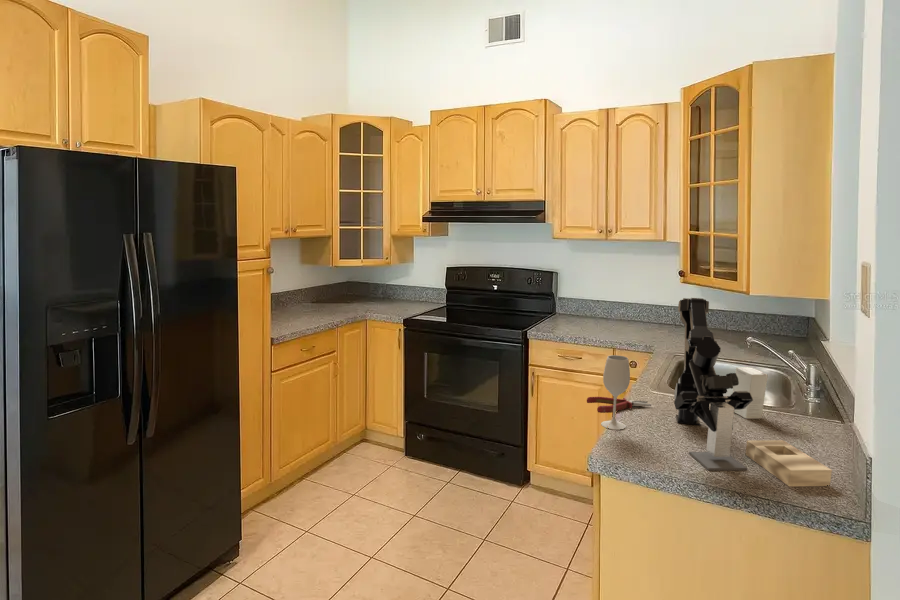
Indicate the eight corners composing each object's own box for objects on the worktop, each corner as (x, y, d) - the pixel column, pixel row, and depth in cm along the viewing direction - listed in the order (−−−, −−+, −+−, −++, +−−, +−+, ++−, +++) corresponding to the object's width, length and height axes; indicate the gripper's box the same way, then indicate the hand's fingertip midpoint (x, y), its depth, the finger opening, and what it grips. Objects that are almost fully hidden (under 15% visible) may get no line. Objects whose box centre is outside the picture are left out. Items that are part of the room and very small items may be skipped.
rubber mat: (689, 453, 152) (689, 451, 152) (725, 453, 152) (725, 451, 152) (708, 470, 142) (708, 468, 142) (746, 470, 143) (747, 467, 142)
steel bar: (706, 450, 149) (710, 402, 147) (721, 450, 149) (725, 402, 147) (714, 456, 145) (718, 407, 143) (729, 456, 145) (734, 407, 143)
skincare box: (729, 410, 187) (733, 366, 185) (746, 409, 188) (750, 366, 186) (746, 419, 179) (751, 373, 177) (763, 418, 180) (768, 373, 178)
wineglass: (600, 419, 176) (604, 353, 173) (626, 422, 174) (631, 355, 171) (599, 428, 169) (604, 359, 166) (626, 431, 167) (631, 361, 164)
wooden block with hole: (745, 454, 152) (747, 440, 151) (781, 454, 153) (783, 440, 152) (789, 486, 134) (791, 470, 134) (829, 486, 135) (831, 470, 134)
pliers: (657, 412, 185) (658, 405, 185) (598, 414, 182) (598, 406, 182) (641, 401, 196) (641, 394, 196) (585, 403, 194) (585, 395, 193)
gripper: (682, 361, 147) (700, 417, 138) (752, 361, 148) (774, 417, 139) (667, 381, 156) (682, 436, 147) (733, 382, 157) (752, 435, 148)
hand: (722, 430), depth 145 cm, fingers closed on steel bar, 4 cm apart
